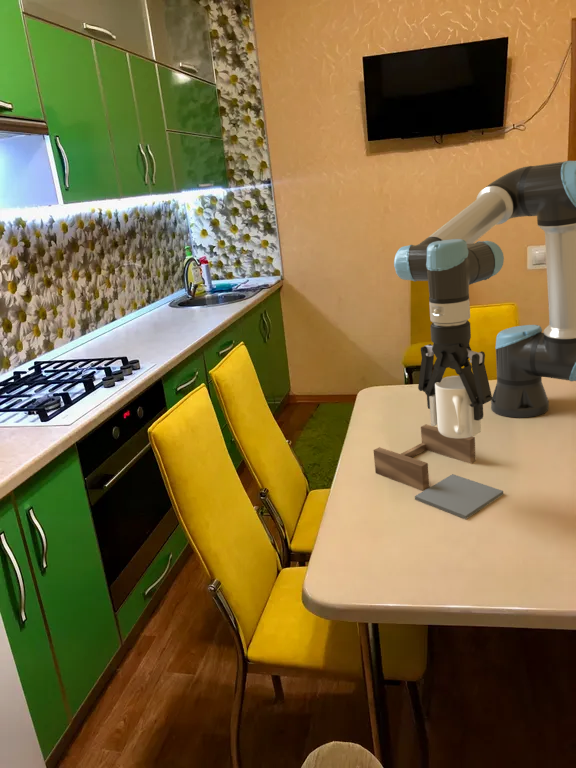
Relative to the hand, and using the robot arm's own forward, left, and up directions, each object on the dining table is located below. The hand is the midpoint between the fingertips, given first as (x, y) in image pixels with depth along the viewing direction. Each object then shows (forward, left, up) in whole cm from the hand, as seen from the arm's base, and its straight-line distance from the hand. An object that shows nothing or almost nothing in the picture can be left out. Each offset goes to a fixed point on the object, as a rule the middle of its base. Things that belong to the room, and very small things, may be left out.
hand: (455, 428), depth 127 cm
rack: (-7, -15, -16) cm, 23 cm away
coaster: (0, 0, -16) cm, 16 cm away
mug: (0, +1, -1) cm, 2 cm away
